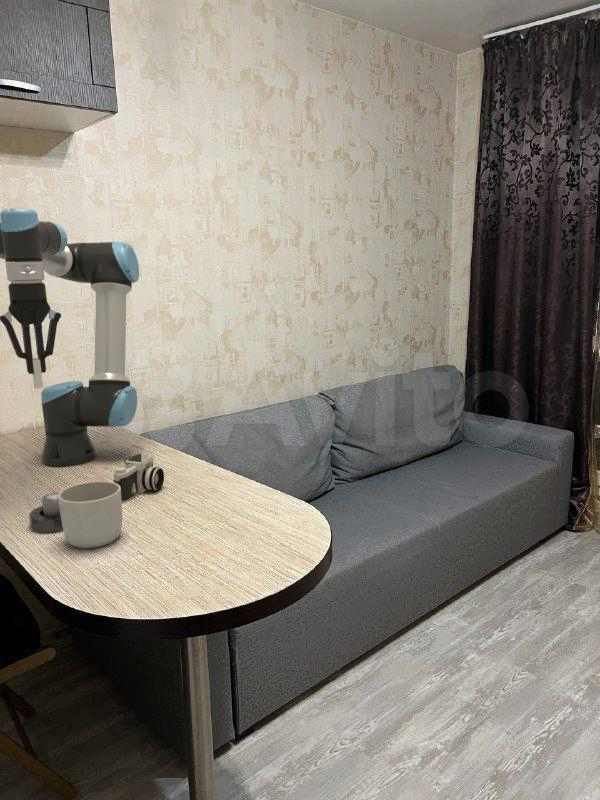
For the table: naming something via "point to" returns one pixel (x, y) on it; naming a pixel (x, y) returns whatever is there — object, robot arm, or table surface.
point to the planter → (91, 513)
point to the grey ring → (44, 522)
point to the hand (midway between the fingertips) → (38, 387)
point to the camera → (138, 476)
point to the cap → (51, 505)
